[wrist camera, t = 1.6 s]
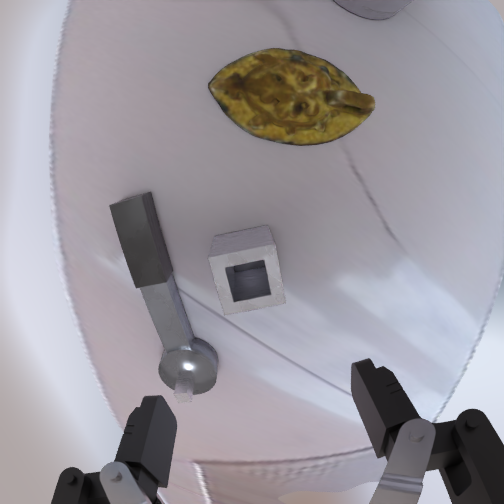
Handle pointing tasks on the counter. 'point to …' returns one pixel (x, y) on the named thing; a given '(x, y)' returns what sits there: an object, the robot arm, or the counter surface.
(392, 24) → the counter surface
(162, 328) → the ratchet
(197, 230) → the counter surface
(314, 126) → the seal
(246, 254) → the hollow square tube
